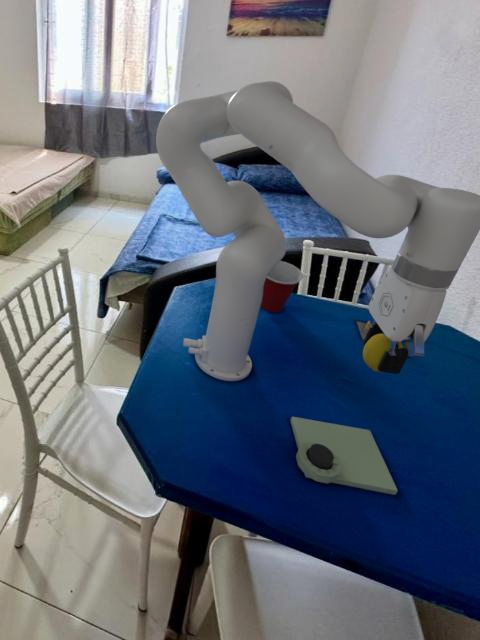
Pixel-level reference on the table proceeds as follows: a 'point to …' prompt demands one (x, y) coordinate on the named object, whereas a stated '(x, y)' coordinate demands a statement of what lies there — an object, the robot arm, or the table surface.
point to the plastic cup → (280, 286)
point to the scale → (343, 455)
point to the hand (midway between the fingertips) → (380, 357)
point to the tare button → (320, 456)
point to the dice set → (363, 328)
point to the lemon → (376, 350)
